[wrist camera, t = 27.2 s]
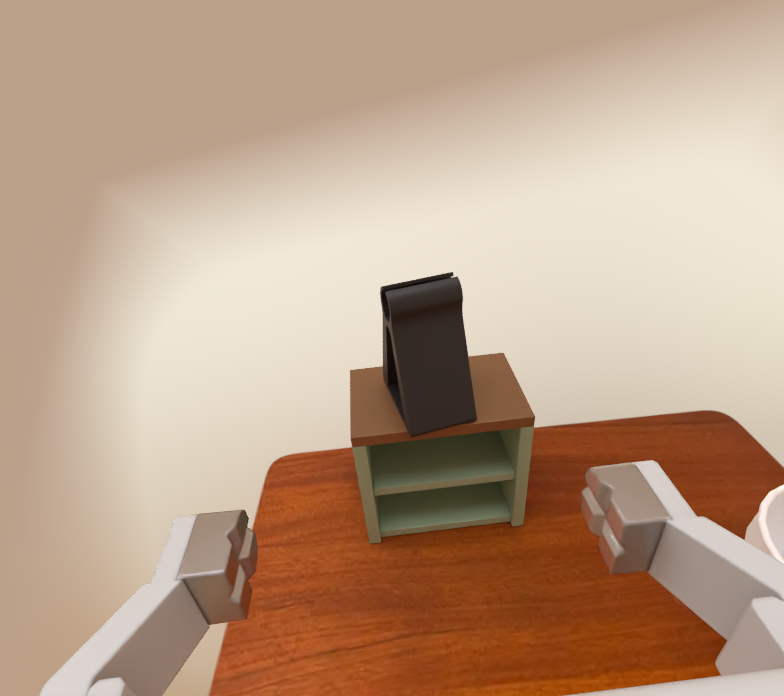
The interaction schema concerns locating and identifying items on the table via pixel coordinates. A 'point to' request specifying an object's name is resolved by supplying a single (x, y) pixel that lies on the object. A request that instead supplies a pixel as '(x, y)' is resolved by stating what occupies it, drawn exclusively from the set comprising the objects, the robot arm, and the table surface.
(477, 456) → the shelf
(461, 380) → the phone stand
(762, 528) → the cup
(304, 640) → the table surface
